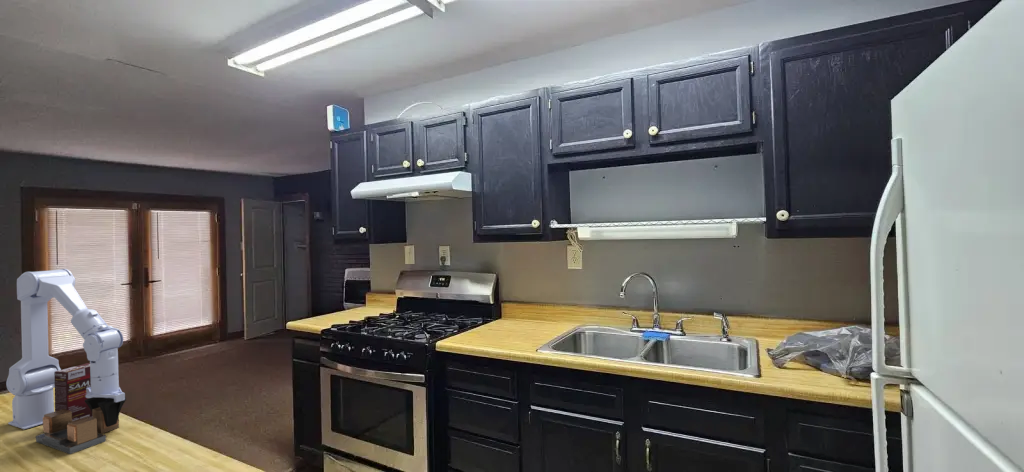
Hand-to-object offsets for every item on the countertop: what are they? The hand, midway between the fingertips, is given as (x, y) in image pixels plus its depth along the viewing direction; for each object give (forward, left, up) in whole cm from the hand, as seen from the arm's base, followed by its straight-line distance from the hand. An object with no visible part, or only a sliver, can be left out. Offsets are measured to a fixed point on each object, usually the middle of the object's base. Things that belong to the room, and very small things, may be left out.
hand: (106, 423), depth 125 cm
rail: (0, -8, -2) cm, 8 cm away
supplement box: (-13, -1, -2) cm, 13 cm away
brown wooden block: (0, 0, -2) cm, 2 cm away
